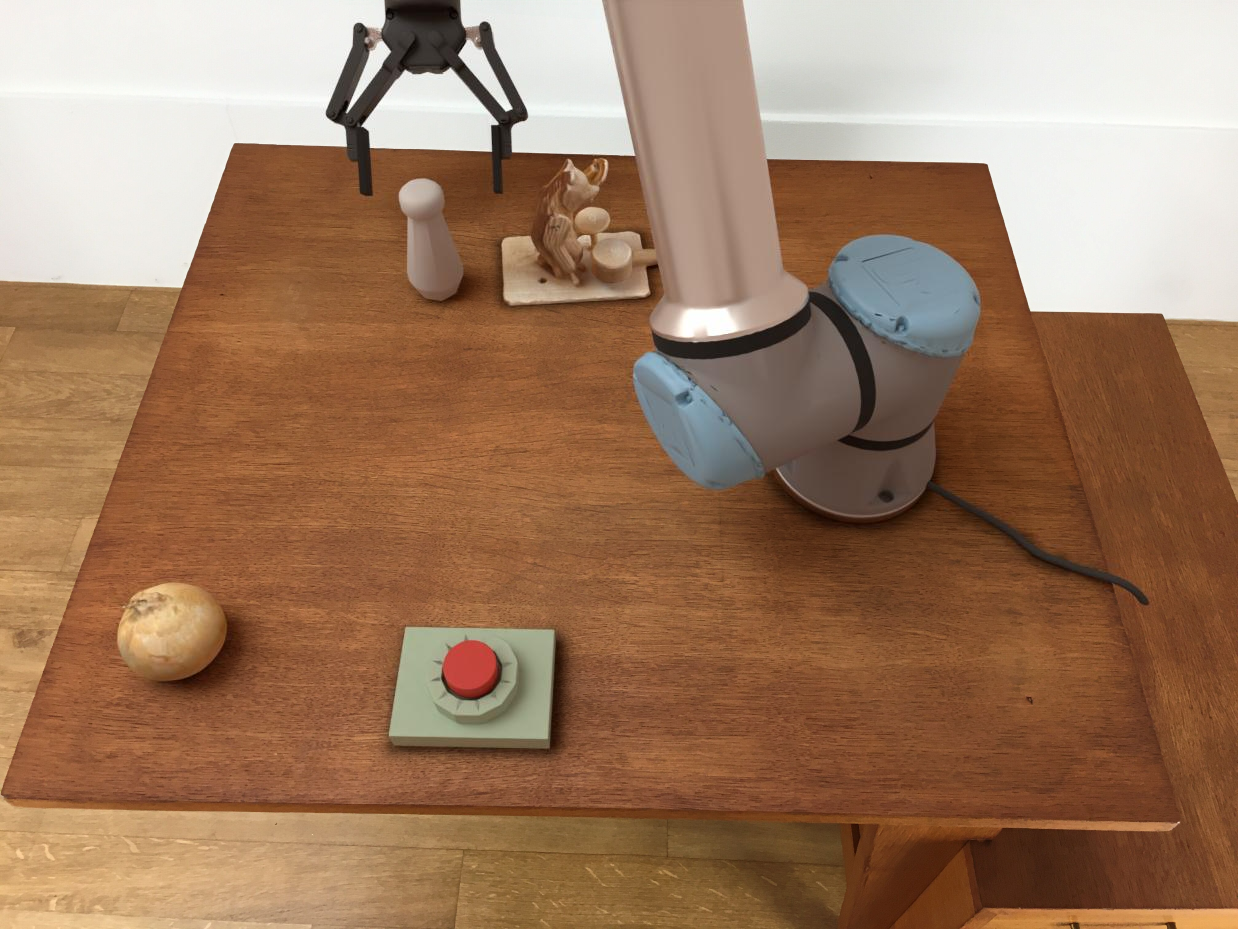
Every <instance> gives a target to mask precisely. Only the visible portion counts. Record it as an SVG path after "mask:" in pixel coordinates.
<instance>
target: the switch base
mask: <svg viewBox="0 0 1238 929" xmlns="http://www.w3.org/2000/svg"><path fill="white" fill-rule="evenodd" d="M468 640H476V641H480V642H483V643H485V644H486V645H488V646H489V647H490V648H491V649H492V650H493V652H494V654H495V656H496V660H497V665H498V678H497V681H496V683H495V685H494V686H493V688H492V689H491V690H490V691H489V692H487V693H486V694H484V695H482V696H480V697H477V698H464V697H460V696H458V695H456V694H455V693H454V692H453V691H452V690H451V689H450V688H449V686H448V684H447V681H446V678H445V675H444V672H443V663H444V659H445V657H446V655H447V653H448V652H449V651H450V649H451V648H452V647H454V646H455V645H457V644H458V643H461V642H463V641H468ZM556 643H557V640H556V631H555V629H547V628H546V629H545V628H544V629H542V628H493V627H491V628H487V627H485V628H484V627H438V626H437V627H434V626H433V627H432V626H429V627H428V626H405V627H404V635H403V640H402V647H401V655H400V660H399V666H398V673H397V678H396V686H395V693H394V699H393V705H392V712H391V718H390V723H389V725H390V726H389V731H388V738H389V740H390V741H391V743H392V745H393V747H436V748H437V747H441V748H443V747H444V748H445V747H446V748H495V749H496V748H498V749H503V748H504V749H544V750H547V749H550V748H551V734H552V733H551V730H552V713H553V697H554V695H553V694H554V679H555V677H554V676H555V662H556V661H555V660H556V646H557V645H556Z"/></svg>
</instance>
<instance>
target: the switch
mask: <svg viewBox="0 0 1238 929" xmlns="http://www.w3.org/2000/svg"><path fill="white" fill-rule="evenodd" d="M443 672H444V675H445V678H446V681H447V684H448V686H449V688H450V689H451V690H452V691H453V692H454V693H455V694H456V695H458V696H460V697H464V698H477V697H480V696H482V695H484V694H486V693H487V692H489V691H490V690H491V689H492V688H493V686H494V685H495V683H496V681H497V678H498V665H497V660H496V656H495V654H494V652H493V650H492V649H491V648H490V647H489V646H488V645H486V644H485V643H483V642H480V641H476V640H468V641H463V642H461V643H458V644H457V645H455V646H454V647H452V648H451V649H450V651H449V652H448V653H447V655H446V657H445V659H444V663H443Z"/></svg>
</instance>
